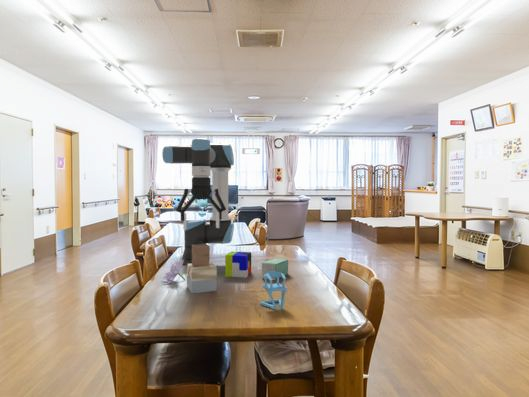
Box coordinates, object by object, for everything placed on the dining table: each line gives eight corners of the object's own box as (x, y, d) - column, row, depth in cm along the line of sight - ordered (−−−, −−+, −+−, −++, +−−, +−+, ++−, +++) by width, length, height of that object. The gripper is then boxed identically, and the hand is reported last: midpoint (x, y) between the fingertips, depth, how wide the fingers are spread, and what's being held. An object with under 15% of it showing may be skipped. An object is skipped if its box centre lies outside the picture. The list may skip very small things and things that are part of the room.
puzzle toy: (246, 277, 174) (246, 256, 173) (225, 276, 176) (225, 255, 175) (251, 272, 184) (251, 252, 183) (231, 271, 186) (231, 251, 185)
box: (288, 274, 181) (288, 258, 180) (275, 280, 169) (275, 264, 168) (275, 272, 184) (275, 257, 184) (261, 278, 172) (261, 262, 172)
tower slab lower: (186, 287, 158) (186, 275, 158) (210, 285, 162) (210, 273, 161) (191, 294, 149) (191, 281, 148) (216, 291, 152) (216, 279, 152)
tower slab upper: (187, 275, 158) (187, 263, 158) (210, 273, 161) (210, 261, 161) (191, 281, 148) (191, 268, 148) (216, 279, 152) (216, 266, 152)
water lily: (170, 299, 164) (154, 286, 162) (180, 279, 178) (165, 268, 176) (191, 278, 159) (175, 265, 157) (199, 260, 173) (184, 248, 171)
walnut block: (191, 264, 157) (191, 244, 156) (206, 263, 159) (206, 244, 159) (194, 267, 151) (194, 247, 151) (209, 265, 153) (209, 246, 153)
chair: (269, 311, 128) (269, 276, 127) (259, 304, 136) (260, 270, 135) (289, 308, 131) (290, 274, 130) (279, 301, 139) (279, 269, 138)
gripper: (171, 176, 147) (171, 231, 148) (233, 177, 156) (233, 228, 157) (168, 176, 154) (169, 228, 155) (228, 177, 163) (228, 226, 164)
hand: (201, 228), depth 156 cm, fingers open, 13 cm apart
